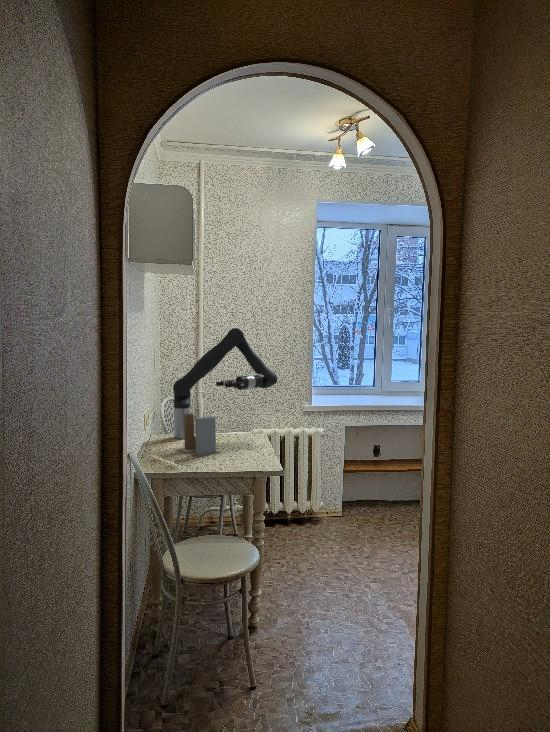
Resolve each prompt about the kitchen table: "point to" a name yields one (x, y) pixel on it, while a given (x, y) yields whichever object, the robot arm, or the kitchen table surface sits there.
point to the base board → (193, 452)
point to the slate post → (205, 435)
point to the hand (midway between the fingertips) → (220, 384)
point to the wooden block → (189, 432)
